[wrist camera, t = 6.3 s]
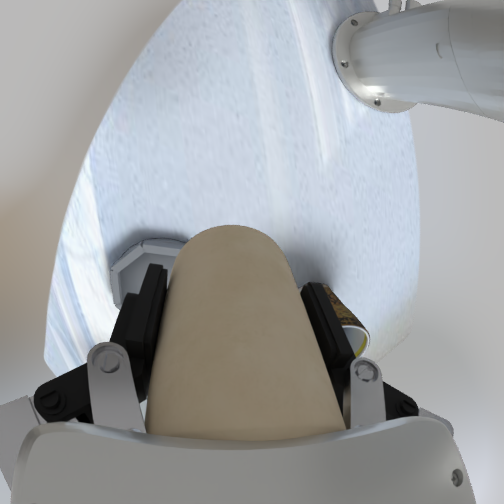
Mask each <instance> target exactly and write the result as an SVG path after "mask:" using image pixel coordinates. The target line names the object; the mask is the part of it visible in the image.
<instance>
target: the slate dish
mask: <svg viewBox="0 0 504 504" xmlns="http://www.w3.org/2000/svg"><path fill="white" fill-rule="evenodd" d="M185 244H186V243H184V242H181V241H178V240H173V239H165V238H156V239H149V240H145V241H141V242H139V243H137V244H135V245H134V246H132V247H131V248H129V249H128V250H127V251H126V252H125V253H124V254H123V256H122V257H121V258H120V259H119V260H118V261H116V262H115V263H114V264H113V266H112V267H111V270H110V275H111V285H112V293H113V301H114V304H116V305H115V306H116V307H117V308H118V309H119V310H120V309H121V307H122V304H123V301H124V298H125V296H126V294H127V293H128V292H130V293H136V294H139V292H140V289H141V286H142V283H143V280H144V277H145V274H146V271H147V269H148V266H149V263H153V264H161V265H163V269H168V277H167V288H168V284H169V280H170V275H171V272H172V268H173V265H174V262H175V259H176V257H177V255H178V254H179V252H180V250H181V249H182V248H183V246H184V245H185Z"/></svg>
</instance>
